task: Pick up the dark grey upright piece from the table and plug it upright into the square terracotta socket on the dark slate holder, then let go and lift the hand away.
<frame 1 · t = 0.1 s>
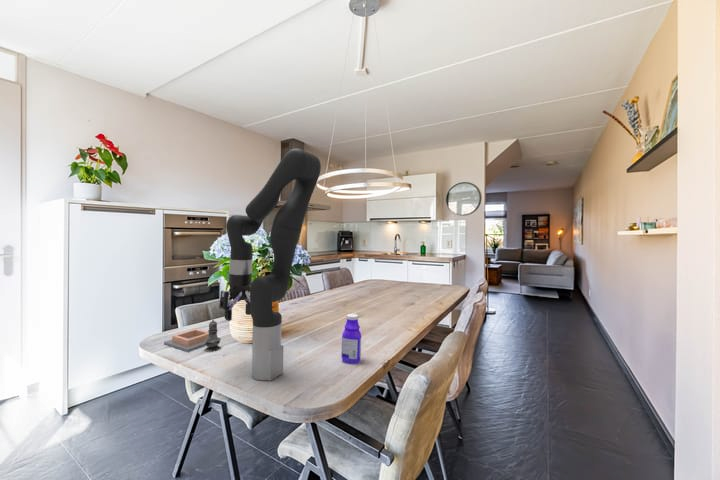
hand: (238, 317, 103), 17 cm above the table, tool pointing down, fingers open, 8 cm apart
dark grey upright piece: (212, 349, 117), on the table
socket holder: (192, 342, 123), on the table
bottle: (351, 361, 109), on the table
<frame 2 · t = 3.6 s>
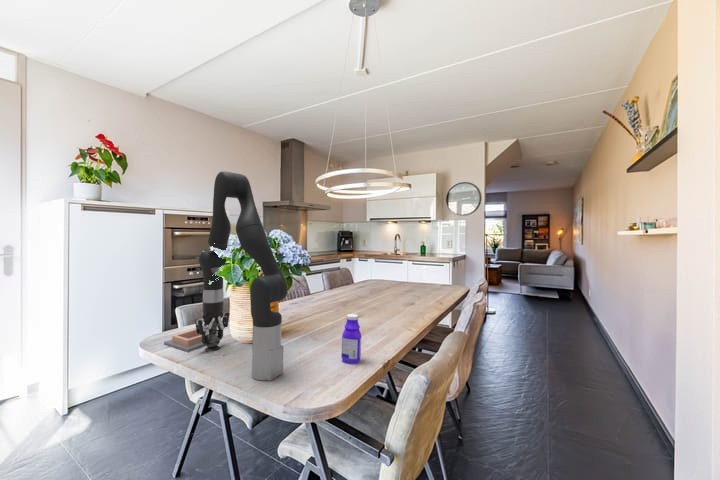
hand: (212, 341, 117), 3 cm above the table, tool pointing down, fingers closed on dark grey upright piece, 6 cm apart
dark grey upright piece: (212, 349, 117), on the table, touching gripper
everything else where it was.
when the fingers open (5 cm above the table, at t = 9.3 s): dark grey upright piece stays where it is, resting on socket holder.
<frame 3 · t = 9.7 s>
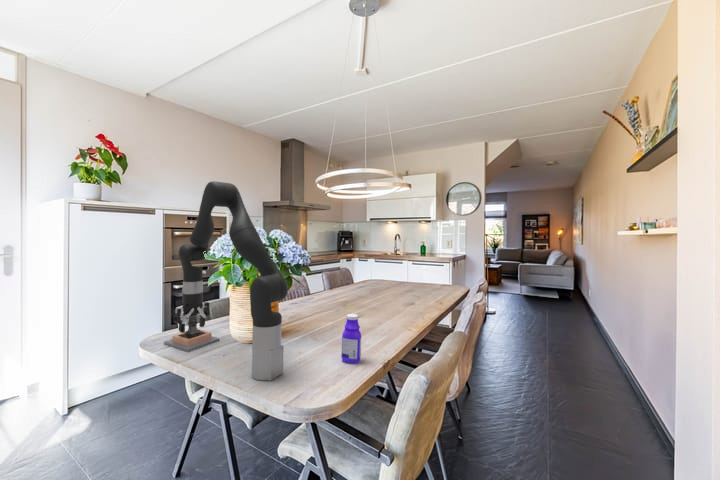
hand: (192, 329, 122), 6 cm above the table, tool pointing down, fingers open, 8 cm apart
dark grey upright piece: (192, 340, 123), point 1 cm above the table, touching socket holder
everything else where it was.
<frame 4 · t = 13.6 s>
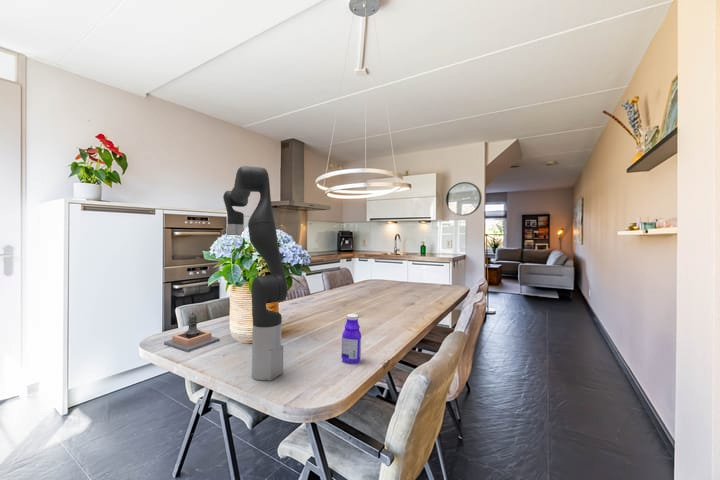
hand: (234, 268, 135), 30 cm above the table, tool pointing down, fingers open, 8 cm apart
nothing on the table moved.
at the end: dark grey upright piece 0.1 cm off-centre on the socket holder, point 0.8 cm above the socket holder's base; dark grey upright piece tilted 0°; the gripper is holding nothing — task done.
